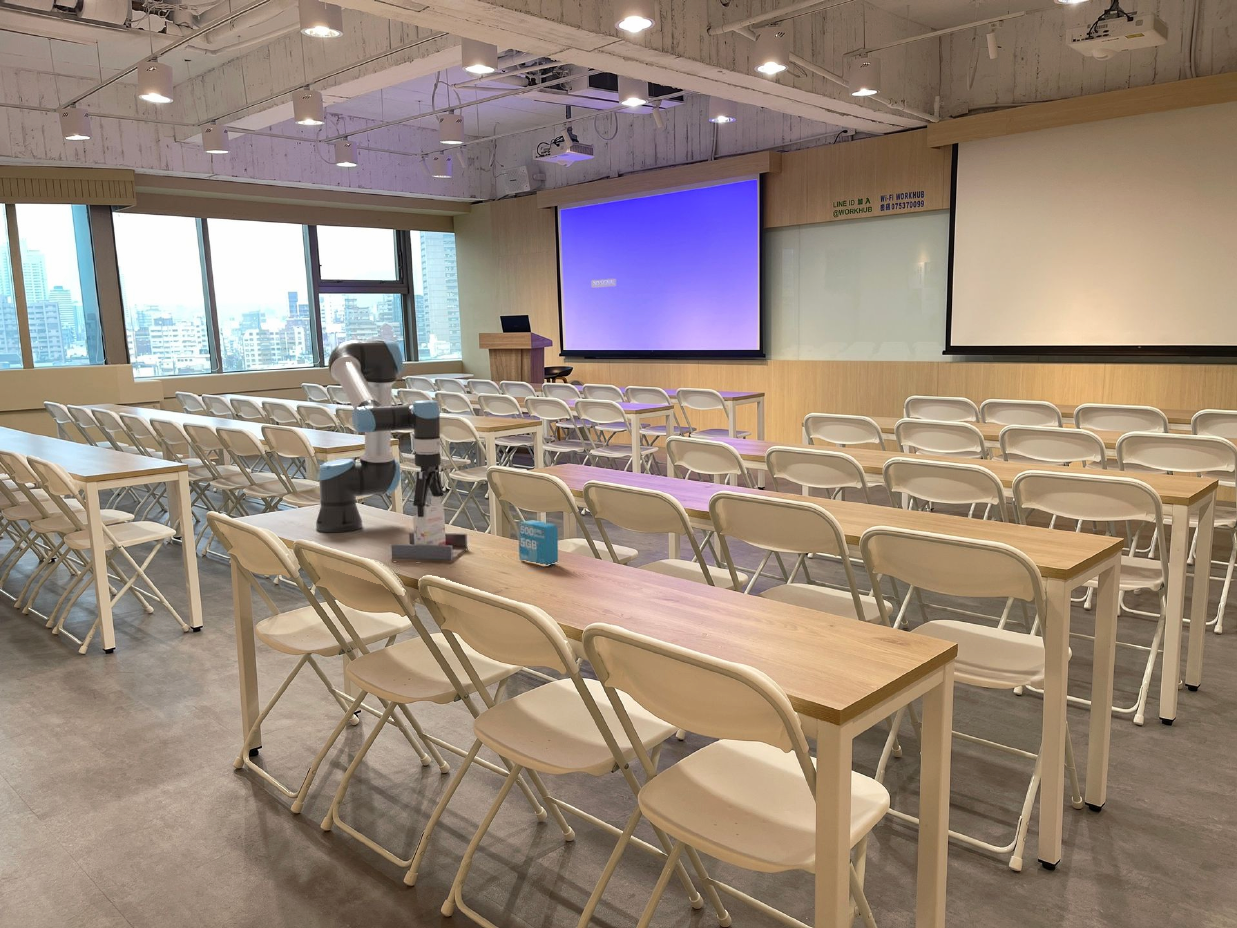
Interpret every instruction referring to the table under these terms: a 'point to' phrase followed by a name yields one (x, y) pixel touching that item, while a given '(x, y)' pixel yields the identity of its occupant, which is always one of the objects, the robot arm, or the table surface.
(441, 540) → the ink cartridge box
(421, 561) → the track board
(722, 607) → the table surface
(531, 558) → the data package
